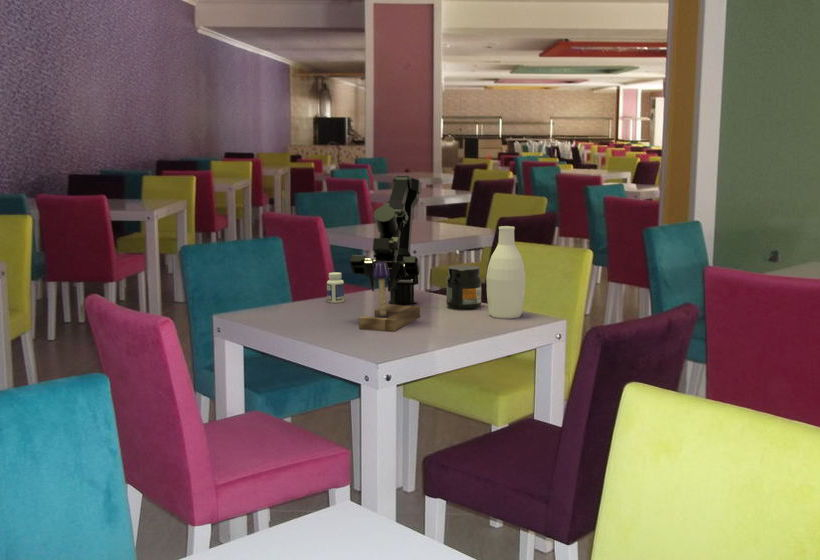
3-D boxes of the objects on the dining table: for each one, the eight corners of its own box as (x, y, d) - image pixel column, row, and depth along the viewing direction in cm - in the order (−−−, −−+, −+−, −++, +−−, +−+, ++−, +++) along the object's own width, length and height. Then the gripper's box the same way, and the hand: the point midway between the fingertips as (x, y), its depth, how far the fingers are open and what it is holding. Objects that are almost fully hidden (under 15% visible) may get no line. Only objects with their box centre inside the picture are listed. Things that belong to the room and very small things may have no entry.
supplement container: (487, 309, 274) (487, 269, 272) (454, 311, 271) (454, 271, 269) (472, 303, 284) (473, 264, 282) (440, 305, 280) (441, 266, 278)
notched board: (359, 328, 247) (358, 317, 247) (387, 314, 266) (387, 304, 266) (393, 331, 244) (393, 320, 243) (419, 316, 263) (419, 306, 262)
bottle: (531, 318, 261) (533, 228, 257) (494, 320, 258) (495, 229, 254) (515, 310, 271) (517, 224, 267) (480, 313, 268) (481, 225, 264)
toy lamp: (383, 325, 249) (382, 263, 246) (369, 322, 252) (369, 262, 249) (394, 322, 253) (393, 261, 250) (381, 320, 255) (380, 260, 253)
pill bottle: (345, 300, 289) (345, 272, 288) (342, 303, 284) (342, 274, 283) (328, 299, 290) (328, 271, 288) (325, 302, 285) (325, 274, 283)
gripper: (350, 225, 253) (341, 272, 244) (417, 226, 250) (411, 273, 241) (357, 250, 262) (349, 296, 253) (422, 251, 259) (416, 297, 250)
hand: (380, 290), depth 249 cm, fingers closed on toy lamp, 4 cm apart
